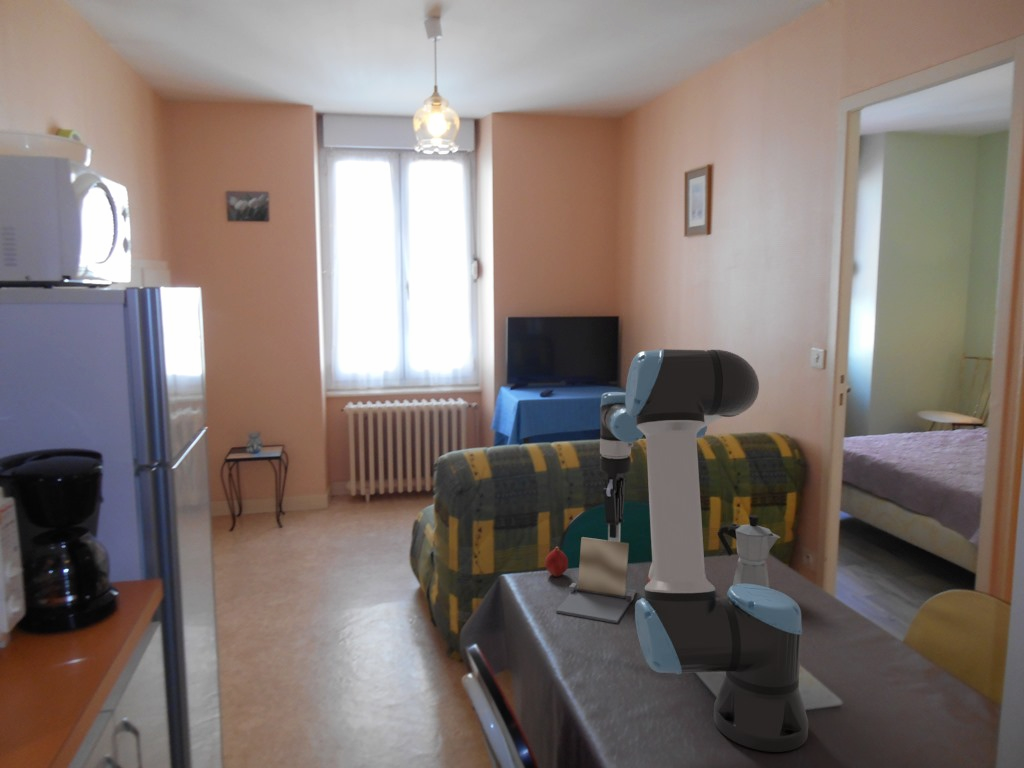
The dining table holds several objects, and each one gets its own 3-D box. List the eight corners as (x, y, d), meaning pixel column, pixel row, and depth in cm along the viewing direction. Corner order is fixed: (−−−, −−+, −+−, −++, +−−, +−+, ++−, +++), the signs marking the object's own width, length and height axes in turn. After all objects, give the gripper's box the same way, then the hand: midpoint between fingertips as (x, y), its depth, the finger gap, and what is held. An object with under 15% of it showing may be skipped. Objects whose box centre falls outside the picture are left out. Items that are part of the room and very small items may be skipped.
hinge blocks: (631, 602, 165) (631, 596, 165) (569, 592, 171) (569, 586, 171) (633, 598, 167) (633, 592, 167) (572, 588, 173) (572, 582, 173)
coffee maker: (782, 587, 175) (785, 515, 173) (774, 599, 168) (777, 524, 166) (721, 574, 183) (723, 506, 181) (710, 586, 176) (713, 514, 174)
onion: (541, 574, 184) (542, 544, 183) (562, 571, 185) (563, 541, 184) (549, 582, 178) (550, 551, 177) (571, 580, 180) (571, 549, 179)
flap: (626, 598, 167) (625, 599, 166) (577, 590, 172) (576, 591, 171) (629, 543, 168) (628, 543, 167) (581, 536, 173) (580, 537, 172)
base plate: (617, 623, 155) (617, 620, 155) (556, 612, 161) (556, 610, 161) (636, 592, 172) (636, 590, 172) (580, 583, 177) (580, 581, 177)
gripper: (623, 462, 168) (622, 559, 171) (636, 451, 180) (635, 542, 183) (593, 459, 171) (591, 555, 174) (607, 449, 183) (606, 539, 186)
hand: (614, 548), depth 178 cm, fingers closed
